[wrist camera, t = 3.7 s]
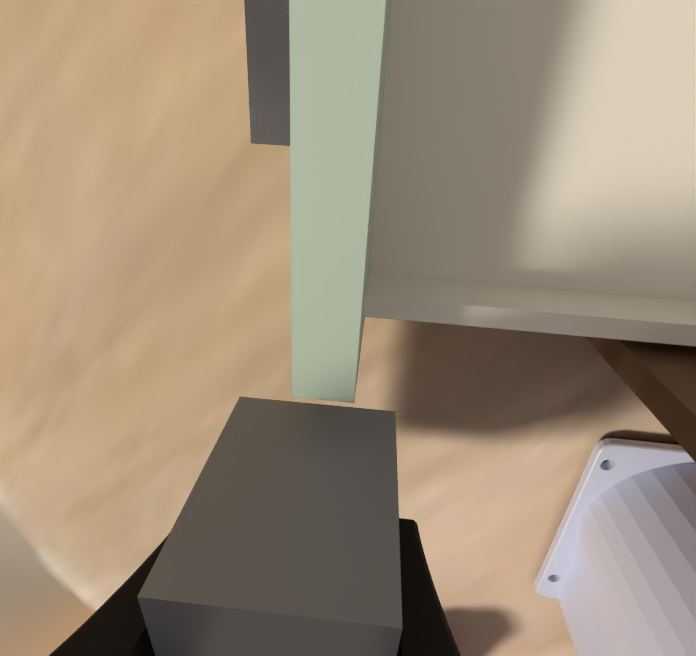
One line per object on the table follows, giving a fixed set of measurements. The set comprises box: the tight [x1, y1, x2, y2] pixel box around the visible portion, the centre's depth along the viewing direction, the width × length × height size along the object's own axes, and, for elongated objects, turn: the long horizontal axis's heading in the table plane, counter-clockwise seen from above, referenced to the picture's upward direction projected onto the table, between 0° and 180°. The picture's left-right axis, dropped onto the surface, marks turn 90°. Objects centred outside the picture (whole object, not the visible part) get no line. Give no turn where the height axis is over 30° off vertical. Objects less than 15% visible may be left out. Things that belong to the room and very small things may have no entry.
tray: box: [244, 0, 696, 403], centre depth 8 cm, size 15×14×5 cm
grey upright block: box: [137, 397, 402, 656], centre depth 10 cm, size 4×6×5 cm
